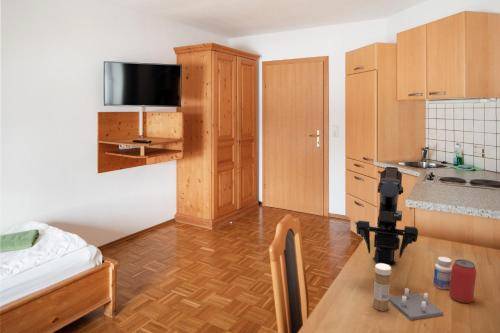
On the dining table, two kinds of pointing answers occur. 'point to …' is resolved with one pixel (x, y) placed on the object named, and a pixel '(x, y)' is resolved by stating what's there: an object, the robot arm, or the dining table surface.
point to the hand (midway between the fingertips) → (384, 255)
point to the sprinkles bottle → (381, 286)
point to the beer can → (462, 281)
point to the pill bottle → (443, 273)
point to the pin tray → (415, 305)
